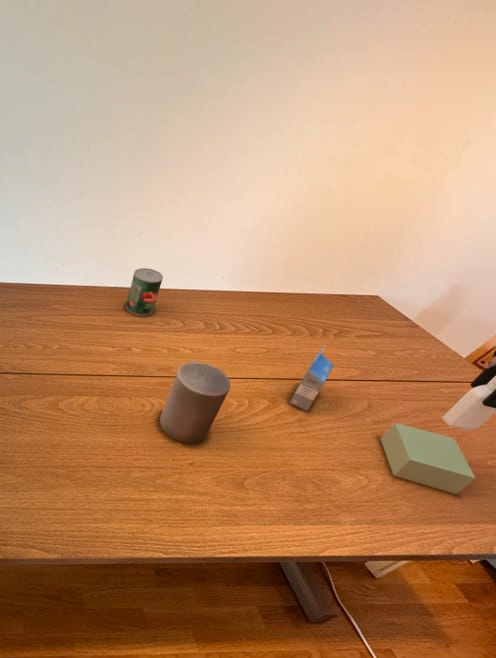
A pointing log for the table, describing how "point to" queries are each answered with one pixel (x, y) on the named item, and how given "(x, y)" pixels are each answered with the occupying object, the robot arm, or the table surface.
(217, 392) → the pillar candle
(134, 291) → the canned tomato
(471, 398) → the eye dropper bottle
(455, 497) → the table surface
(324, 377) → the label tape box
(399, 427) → the block
